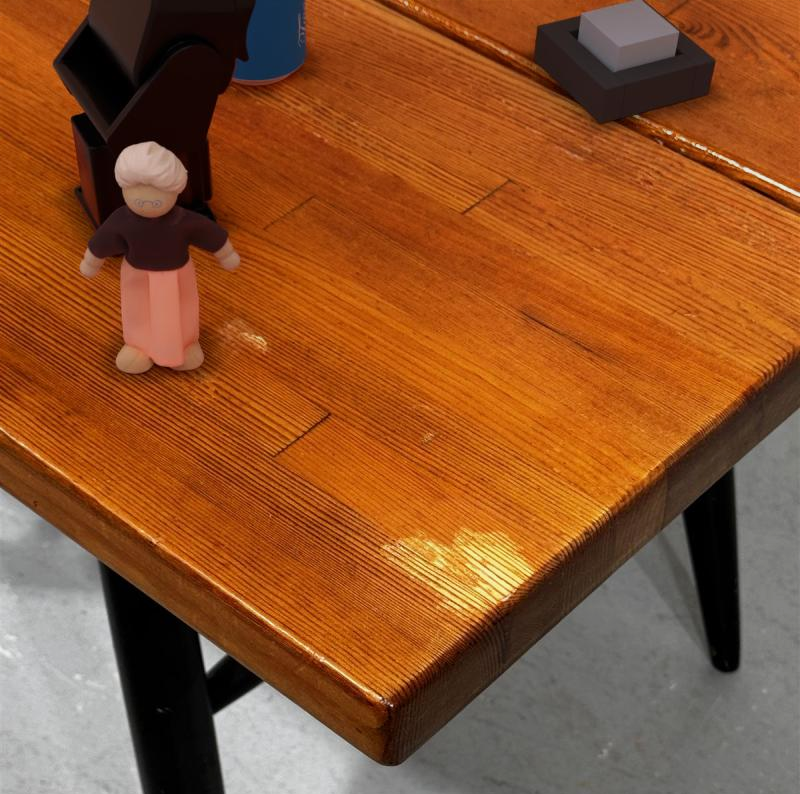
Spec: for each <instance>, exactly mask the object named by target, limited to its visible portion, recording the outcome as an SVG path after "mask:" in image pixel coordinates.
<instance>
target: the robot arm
mask: <svg viewBox="0 0 800 794" xmlns="http://www.w3.org/2000/svg"><path fill="white" fill-rule="evenodd" d="M255 3H256V0H89V4H88V9H87V10H88V11H87V14H86V15H85V17H84V19H82V21H81V23H80V24H79V25H78V26H77V28H76V29H75V30H74V32H73V33H72V34H71V36H70V37H69V39H68V40H67V42H66V43H65V44H64V46H62V48H61V49H60V51H59V52H58V54H57V55H56V56H55V58H54V59H53V61H52V64H51V65H52V68H53V69H54V71H55V72H56V74H57V76H58V77H59V79H60V81H61V82H62V85H63V86H64V88H65V89H66V90H67V92H68V93H69V95H70V96H72V97H73V98H74V99H75V100H76V102H77V104H78V105H79V106H80V108H81V110H82V111H83V112H82V113H78V114H74V115H72V116H71V117H70V124H71V130H72V135H73V136H72V137H73V142H74V143H73V144H74V150H75V155H76V160H77V162H76V163H77V169H78V174H79V175H78V176H79V183H80V184H79V185H78V186H76V187H75V188H74V189H73V193H74V198H75V200H76V202H77V204H78V206H79V207H80V209H81V210H82V212H83V214H84V216H85V217H86V219H87V221H88V223H89V224H90V226H91V228H92V229H93V231H94V233H95V232H96V231H97V230H98V229H99V227H100V226H101V225H102V224H103V223H104V222H105V221H106V220H107V219H108V217H109V216H110V215H111V214H112V213H113V212H114V211H115V210H116V209H118V208H120V207H122V206H124V205H127V203H126V202H125V199H124V196H123V191H122V187H120V186H119V184H118V182H117V181H116V177H115V166H116V162H117V159H118V157H119V156H120V154H121V153H122V151H123V150H124V149H125V148H127V147H129V146H132V145H137V144H140V143H146V142H156V143H157V144H158V145H160V146H161V147H164V148H165V149H167V150H169V151H171V152H172V153H173V154H174V155H175V156H176V157H177V158H178V159H179V160H180V161H181V163H182V164H183V166H184V168H185V169H186V170H187V171H188V173H187V183H186V186H185V188H184V189H183V190H182V192H181V193H179V194H178V196H177V200H176V202H175V205H178V206H180V207H182V208H184V209H187V210H190V211H193V212H196V213H199V214H201V215H204V216H205V217H207V218H209V219H210V220H212V221H213V222H215V223H216V224H218V221H217V219H218V218H217V216H216V214H215V213H214V211H213V210H212V208H211V207H210V205H209V204H208V203H207V202H209V201H211V200H212V199H213V197H214V190H213V177H212V165H211V152H210V140H209V138H208V133H209V130H210V127H211V123H212V120H213V116H214V113H215V109H216V106H217V103H218V99H219V96H222V95H224V94H225V93H227V90H228V88H229V87H230V85H231V84H232V82H233V81H232V78H233V75H234V72H235V69H236V62H237V58H238V59H240V60H241V61H243V62H247V61H248V60H249V55H248V51H247V46H246V37H247V29H248V25H249V22H250V19H251V16H252V13H253V10H254V7H255ZM120 255H124V253H121V254H116V255H115V256H120Z"/></svg>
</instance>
